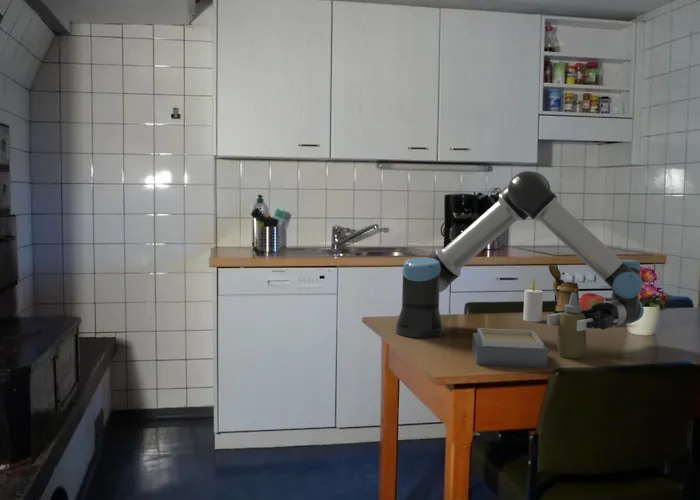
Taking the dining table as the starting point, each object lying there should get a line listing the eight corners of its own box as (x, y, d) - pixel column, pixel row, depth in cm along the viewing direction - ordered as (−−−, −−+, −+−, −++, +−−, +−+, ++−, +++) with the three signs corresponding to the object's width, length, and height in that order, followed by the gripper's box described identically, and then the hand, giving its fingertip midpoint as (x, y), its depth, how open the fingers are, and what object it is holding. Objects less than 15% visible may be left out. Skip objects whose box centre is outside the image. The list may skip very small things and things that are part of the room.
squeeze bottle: (587, 361, 186) (591, 295, 184) (556, 358, 187) (560, 294, 185) (583, 354, 193) (587, 291, 192) (554, 352, 195) (557, 289, 193)
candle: (544, 319, 243) (546, 278, 242) (538, 322, 238) (540, 280, 236) (526, 317, 246) (528, 276, 245) (520, 320, 241) (522, 278, 240)
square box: (476, 364, 179) (477, 340, 178) (472, 350, 195) (473, 327, 194) (546, 367, 177) (548, 343, 177) (536, 353, 193) (537, 330, 193)
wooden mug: (553, 307, 270) (555, 262, 269) (584, 312, 260) (587, 265, 259) (540, 309, 264) (543, 263, 263) (572, 314, 254) (575, 267, 253)
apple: (572, 320, 242) (573, 293, 241) (586, 317, 249) (587, 290, 248) (597, 325, 235) (599, 296, 234) (611, 322, 242) (612, 294, 241)
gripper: (641, 333, 193) (597, 344, 179) (574, 321, 209) (529, 329, 195) (642, 307, 192) (599, 315, 178) (575, 296, 209) (530, 303, 194)
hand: (562, 322), depth 186 cm, fingers open, 9 cm apart
